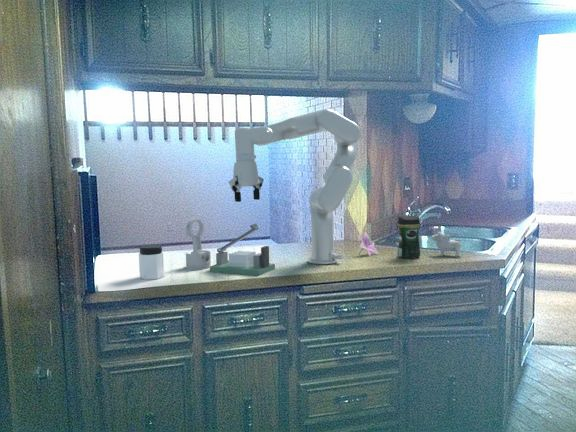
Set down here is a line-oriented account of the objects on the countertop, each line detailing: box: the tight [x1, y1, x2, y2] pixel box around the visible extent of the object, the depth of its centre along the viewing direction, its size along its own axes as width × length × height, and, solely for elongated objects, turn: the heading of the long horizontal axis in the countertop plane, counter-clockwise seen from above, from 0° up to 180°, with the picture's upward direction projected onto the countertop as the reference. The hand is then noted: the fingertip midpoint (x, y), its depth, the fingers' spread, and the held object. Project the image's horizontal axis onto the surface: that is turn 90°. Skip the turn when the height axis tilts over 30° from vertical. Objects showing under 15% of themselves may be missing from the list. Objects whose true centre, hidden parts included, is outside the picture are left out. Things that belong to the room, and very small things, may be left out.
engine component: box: [185, 217, 212, 271], centre depth 220 cm, size 11×20×10 cm
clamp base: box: [209, 245, 276, 277], centre depth 215 cm, size 22×14×10 cm, turn 66°
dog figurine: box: [431, 231, 462, 258], centre depth 240 cm, size 5×13×11 cm, turn 69°
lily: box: [357, 231, 380, 257], centre depth 245 cm, size 12×12×10 cm
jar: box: [138, 244, 165, 281], centre depth 203 cm, size 9×8×12 cm
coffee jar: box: [396, 215, 421, 259], centre depth 237 cm, size 10×8×19 cm
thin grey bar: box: [216, 223, 260, 253], centre depth 215 cm, size 19×4×3 cm, turn 65°
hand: (247, 200), depth 220 cm, fingers open, 9 cm apart
